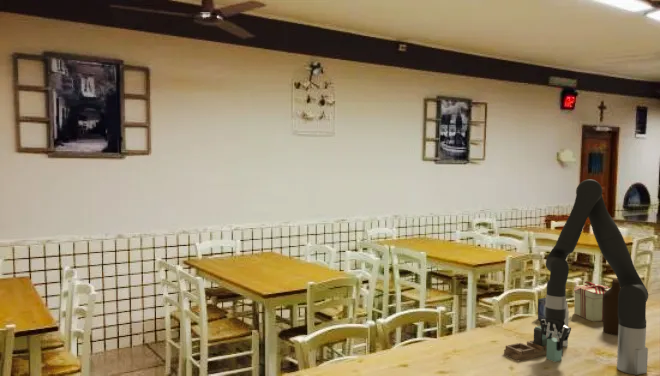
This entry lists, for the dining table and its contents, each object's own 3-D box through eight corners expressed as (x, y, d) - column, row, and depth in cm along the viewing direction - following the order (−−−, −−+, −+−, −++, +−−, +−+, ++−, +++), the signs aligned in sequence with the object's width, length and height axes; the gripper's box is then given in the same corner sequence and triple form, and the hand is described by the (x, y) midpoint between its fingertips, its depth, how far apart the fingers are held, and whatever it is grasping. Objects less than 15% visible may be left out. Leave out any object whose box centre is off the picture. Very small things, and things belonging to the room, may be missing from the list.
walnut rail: (557, 352, 231) (558, 328, 231) (518, 360, 221) (519, 335, 221) (542, 346, 238) (543, 323, 238) (504, 354, 228) (504, 330, 228)
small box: (536, 319, 280) (537, 298, 280) (546, 317, 283) (546, 297, 283) (553, 324, 271) (553, 303, 270) (563, 323, 274) (563, 302, 273)
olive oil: (621, 337, 252) (623, 282, 251) (597, 331, 261) (599, 278, 259) (631, 332, 259) (633, 279, 258) (608, 327, 267) (609, 275, 266)
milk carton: (567, 347, 238) (569, 303, 237) (550, 345, 240) (551, 302, 239) (564, 341, 245) (565, 299, 244) (547, 340, 247) (548, 298, 246)
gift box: (567, 314, 290) (568, 281, 289) (595, 311, 295) (597, 279, 294) (591, 323, 274) (592, 288, 273) (621, 320, 279) (622, 286, 278)
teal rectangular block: (563, 359, 223) (563, 340, 222) (554, 361, 220) (555, 341, 220) (554, 356, 226) (555, 337, 226) (546, 358, 224) (547, 338, 224)
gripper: (577, 309, 217) (575, 352, 218) (548, 301, 230) (546, 342, 231) (563, 311, 214) (562, 355, 215) (534, 302, 227) (533, 344, 228)
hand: (554, 348), depth 223 cm, fingers closed on teal rectangular block, 4 cm apart
